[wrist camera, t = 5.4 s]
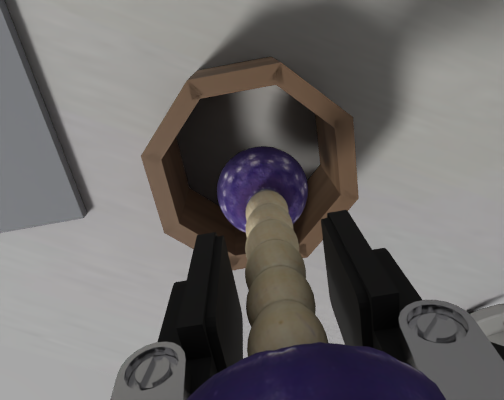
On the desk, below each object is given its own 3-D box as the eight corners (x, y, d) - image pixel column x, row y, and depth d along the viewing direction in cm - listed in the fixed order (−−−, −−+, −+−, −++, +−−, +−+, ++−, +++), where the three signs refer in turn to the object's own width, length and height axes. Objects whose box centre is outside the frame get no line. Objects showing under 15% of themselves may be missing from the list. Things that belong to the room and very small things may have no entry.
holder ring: (338, 209, 23) (361, 248, 19) (188, 235, 23) (178, 279, 19) (323, 46, 19) (348, 49, 15) (145, 80, 19) (121, 92, 15)
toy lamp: (195, 158, 17) (-175, 1154, 2) (291, 114, 17) (947, 1062, 1) (240, 242, 19) (244, 1114, 4) (328, 206, 18) (791, 1071, 3)
